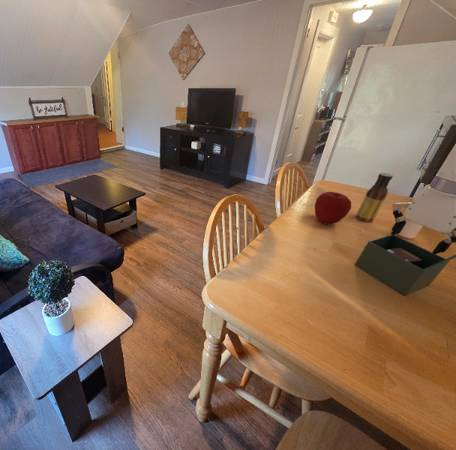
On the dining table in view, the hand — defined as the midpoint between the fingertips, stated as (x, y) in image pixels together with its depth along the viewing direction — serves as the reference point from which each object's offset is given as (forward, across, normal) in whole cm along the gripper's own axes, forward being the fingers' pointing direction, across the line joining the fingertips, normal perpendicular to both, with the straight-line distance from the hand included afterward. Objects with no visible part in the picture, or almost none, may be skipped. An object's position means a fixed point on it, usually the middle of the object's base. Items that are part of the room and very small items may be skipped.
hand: (414, 242), depth 68 cm
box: (+12, 0, 0) cm, 12 cm away
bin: (+12, 0, +1) cm, 12 cm away
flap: (-1, -8, 0) cm, 8 cm away
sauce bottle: (+13, +26, -27) cm, 40 cm away
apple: (+12, +30, -9) cm, 34 cm away
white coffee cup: (+13, +12, -29) cm, 34 cm away
